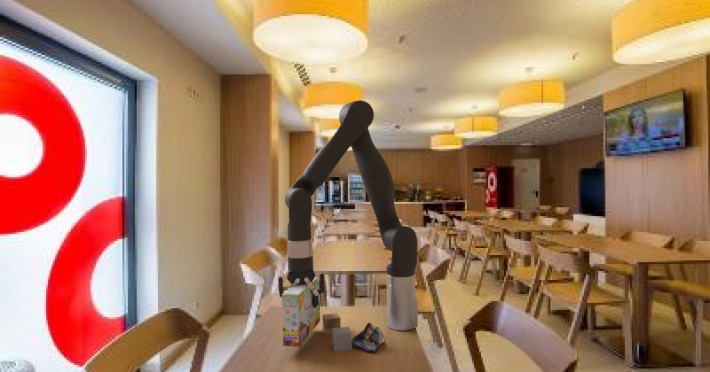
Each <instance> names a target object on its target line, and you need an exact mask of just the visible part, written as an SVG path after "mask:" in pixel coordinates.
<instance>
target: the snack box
mask: <svg viewBox="0 0 710 372" xmlns="http://www.w3.org/2000/svg"><path fill="white" fill-rule="evenodd" d="M312 284H313V285H314V287H315V288H316V290H317V289H319V280H318V279H317V277H315V278H314V280H313V281H312ZM288 288H289V287H288ZM288 288H287V290H285V291H283V292H284V293H283V294H282V297H281V305H282V306H281V307H282V308H281V309H282V312H281V313H282V346H283V347H291V348H292V347H295V348H299V347H301V346H302V344H303V343H304V342H305V341H306V339H307V338H308V337H309V335H310V334H311V333H312V332H313V330H314V329H315V328H316V327H317V326H318V325H319V323H320V322H321V308H320V307H321V303H320V302H321V299H320V295H321V294H319V305H318V306H317V308H314V303H313V294H314V293H313V292H312V290H311V289H310V287H309V285H305V284H304V285H297V286H293V287H290V288H289V289H288Z"/></svg>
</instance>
